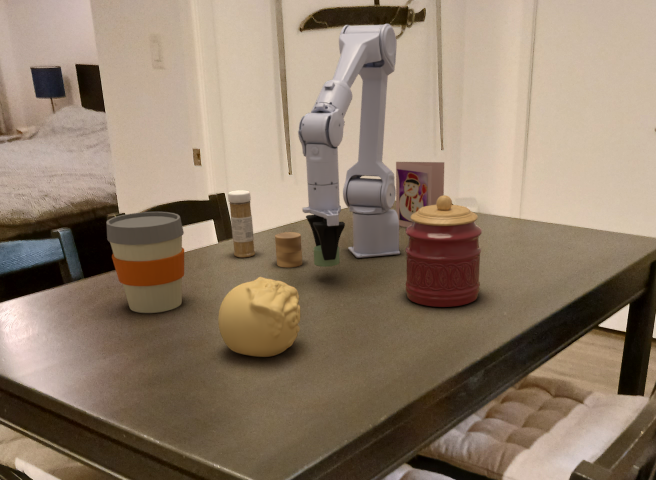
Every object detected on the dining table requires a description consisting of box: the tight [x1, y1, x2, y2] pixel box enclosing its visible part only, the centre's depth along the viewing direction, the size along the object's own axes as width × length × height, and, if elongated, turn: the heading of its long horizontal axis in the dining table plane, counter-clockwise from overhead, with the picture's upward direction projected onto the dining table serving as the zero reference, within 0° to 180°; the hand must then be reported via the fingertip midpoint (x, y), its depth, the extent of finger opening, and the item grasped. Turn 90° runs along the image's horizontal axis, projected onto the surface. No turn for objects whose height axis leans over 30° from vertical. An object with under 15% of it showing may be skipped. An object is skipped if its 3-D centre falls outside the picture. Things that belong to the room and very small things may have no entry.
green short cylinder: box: [313, 245, 340, 268], centre depth 144 cm, size 5×5×3 cm
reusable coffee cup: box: [106, 211, 185, 314], centre depth 131 cm, size 13×13×15 cm
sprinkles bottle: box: [227, 189, 256, 258], centre depth 160 cm, size 5×5×14 cm
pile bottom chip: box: [275, 249, 303, 269], centre depth 155 cm, size 5×5×3 cm
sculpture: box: [217, 276, 301, 358], centre depth 111 cm, size 11×12×11 cm
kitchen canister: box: [405, 195, 483, 308], centre depth 131 cm, size 13×13×18 cm
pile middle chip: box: [274, 231, 303, 253], centre depth 154 cm, size 5×5×3 cm
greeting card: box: [395, 161, 445, 229], centre depth 180 cm, size 11×7×15 cm, turn 43°
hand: (326, 255), depth 144 cm, fingers closed on green short cylinder, 5 cm apart
